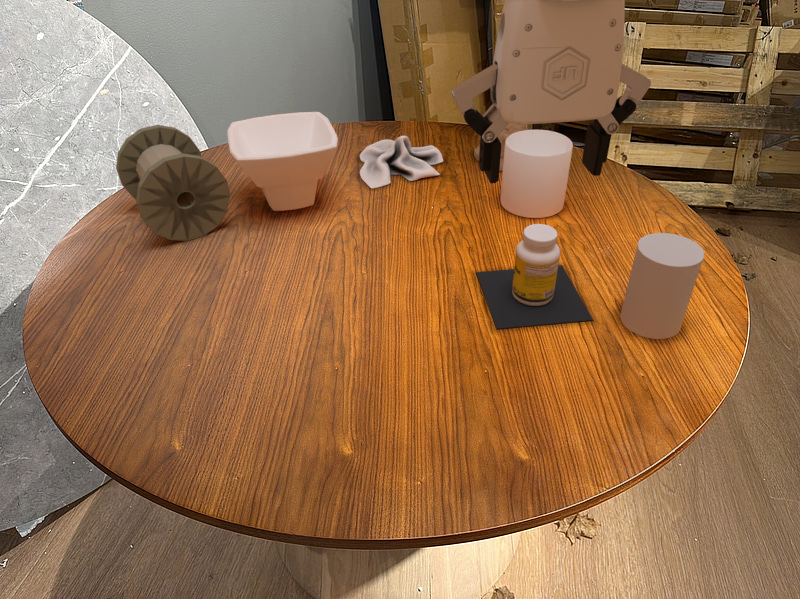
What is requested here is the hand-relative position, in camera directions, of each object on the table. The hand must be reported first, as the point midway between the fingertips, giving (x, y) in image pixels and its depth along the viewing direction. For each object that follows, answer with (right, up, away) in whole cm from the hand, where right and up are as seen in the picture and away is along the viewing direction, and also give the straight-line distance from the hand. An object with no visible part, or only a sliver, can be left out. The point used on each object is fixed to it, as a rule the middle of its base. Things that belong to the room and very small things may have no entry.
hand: (540, 173), depth 58 cm
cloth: (-14, +16, +72) cm, 75 cm away
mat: (+7, -11, +35) cm, 37 cm away
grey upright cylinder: (+22, -15, +30) cm, 40 cm away
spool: (-54, +3, +56) cm, 78 cm away
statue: (+8, +18, +73) cm, 76 cm away
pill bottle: (+7, -11, +35) cm, 37 cm away
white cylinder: (+11, +6, +58) cm, 59 cm away
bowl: (-34, +6, +60) cm, 69 cm away
